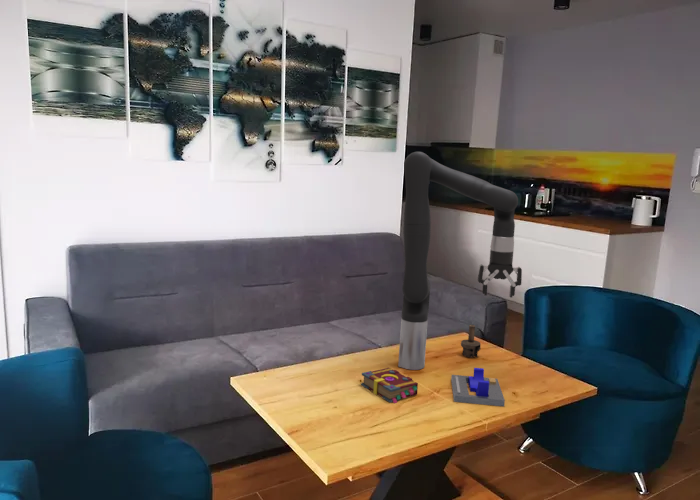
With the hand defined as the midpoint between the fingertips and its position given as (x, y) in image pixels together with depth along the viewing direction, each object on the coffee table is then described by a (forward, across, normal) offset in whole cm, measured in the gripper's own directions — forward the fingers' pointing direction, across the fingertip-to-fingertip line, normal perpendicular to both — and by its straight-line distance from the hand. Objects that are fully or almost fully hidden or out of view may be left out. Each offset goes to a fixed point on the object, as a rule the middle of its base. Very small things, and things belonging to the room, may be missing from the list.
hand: (498, 296), depth 188 cm
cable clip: (+28, -6, -18) cm, 34 cm away
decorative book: (+28, -34, -23) cm, 50 cm away
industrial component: (+28, -7, +17) cm, 34 cm away
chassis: (+28, -7, -18) cm, 34 cm away
